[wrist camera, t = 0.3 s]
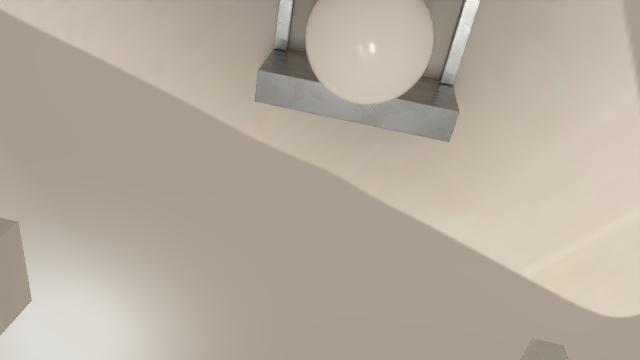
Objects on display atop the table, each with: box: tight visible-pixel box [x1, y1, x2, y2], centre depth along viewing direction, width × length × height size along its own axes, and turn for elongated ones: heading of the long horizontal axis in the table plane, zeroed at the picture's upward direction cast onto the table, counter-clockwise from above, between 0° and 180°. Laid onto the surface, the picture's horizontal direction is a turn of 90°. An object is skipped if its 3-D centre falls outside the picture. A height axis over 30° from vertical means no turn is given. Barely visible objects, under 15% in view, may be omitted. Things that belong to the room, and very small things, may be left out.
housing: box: [255, 0, 480, 142], centre depth 30 cm, size 12×12×5 cm
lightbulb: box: [305, 0, 434, 105], centre depth 27 cm, size 6×6×11 cm
